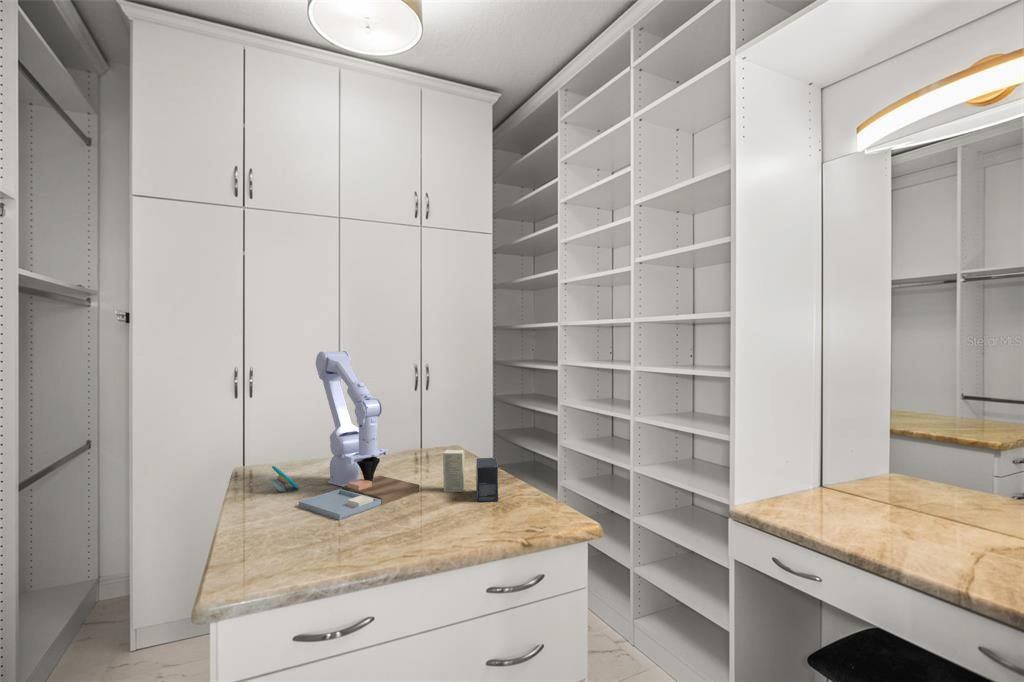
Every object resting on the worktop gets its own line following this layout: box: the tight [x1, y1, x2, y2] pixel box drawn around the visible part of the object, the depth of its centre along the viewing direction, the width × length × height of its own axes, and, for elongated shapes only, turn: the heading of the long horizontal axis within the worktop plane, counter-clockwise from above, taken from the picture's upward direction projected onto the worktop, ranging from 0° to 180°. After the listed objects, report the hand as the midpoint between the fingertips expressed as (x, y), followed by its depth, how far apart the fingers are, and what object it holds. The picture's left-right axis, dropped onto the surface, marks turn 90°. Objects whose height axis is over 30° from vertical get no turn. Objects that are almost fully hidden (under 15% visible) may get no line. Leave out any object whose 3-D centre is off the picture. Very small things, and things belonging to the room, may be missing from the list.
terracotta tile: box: [348, 478, 372, 490], centre depth 153 cm, size 5×5×2 cm
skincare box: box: [442, 449, 466, 493], centre depth 157 cm, size 6×4×12 cm
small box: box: [475, 457, 499, 503], centre depth 151 cm, size 11×6×10 cm, turn 5°
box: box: [298, 488, 382, 521], centre depth 142 cm, size 18×14×2 cm
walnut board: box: [340, 475, 421, 506], centre depth 154 cm, size 18×15×2 cm
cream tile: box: [347, 495, 373, 508], centre depth 142 cm, size 5×5×2 cm
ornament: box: [269, 465, 300, 493], centre depth 155 cm, size 11×4×10 cm
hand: (368, 482), depth 156 cm, fingers closed
